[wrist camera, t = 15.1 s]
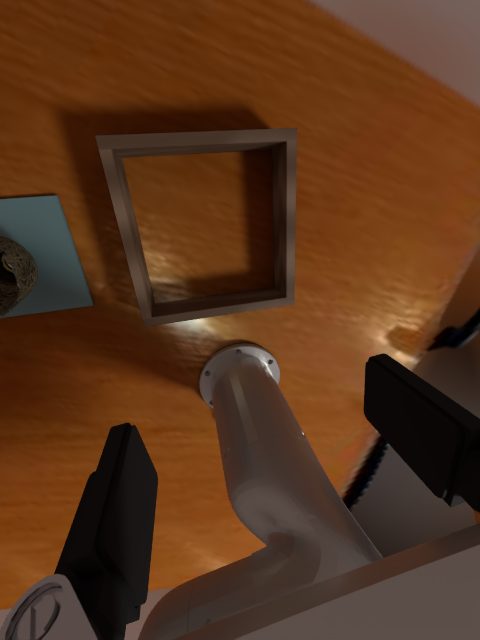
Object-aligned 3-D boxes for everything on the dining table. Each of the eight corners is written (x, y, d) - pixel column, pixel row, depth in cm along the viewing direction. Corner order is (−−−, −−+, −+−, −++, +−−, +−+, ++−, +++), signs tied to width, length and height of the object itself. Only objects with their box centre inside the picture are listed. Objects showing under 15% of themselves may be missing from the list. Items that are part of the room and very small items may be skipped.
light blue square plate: (94, 304, 32) (93, 305, 31) (-18, 319, 30) (-20, 320, 29) (57, 195, 26) (56, 195, 26) (-80, 205, 25) (-84, 205, 24)
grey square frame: (281, 293, 36) (294, 304, 32) (148, 312, 33) (144, 326, 29) (280, 138, 29) (296, 127, 25) (108, 146, 26) (95, 135, 22)
